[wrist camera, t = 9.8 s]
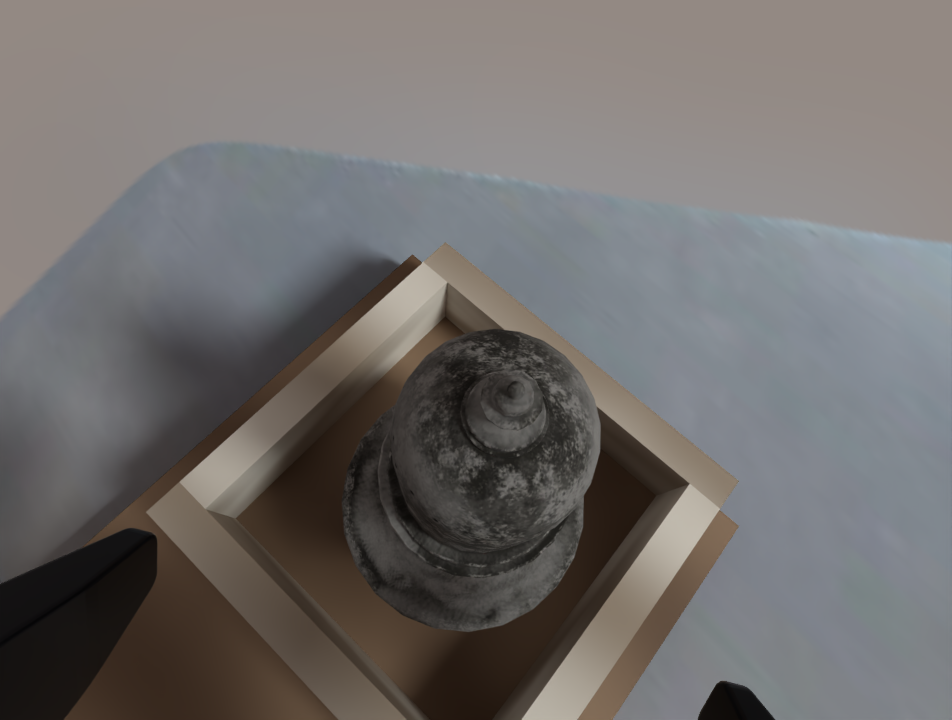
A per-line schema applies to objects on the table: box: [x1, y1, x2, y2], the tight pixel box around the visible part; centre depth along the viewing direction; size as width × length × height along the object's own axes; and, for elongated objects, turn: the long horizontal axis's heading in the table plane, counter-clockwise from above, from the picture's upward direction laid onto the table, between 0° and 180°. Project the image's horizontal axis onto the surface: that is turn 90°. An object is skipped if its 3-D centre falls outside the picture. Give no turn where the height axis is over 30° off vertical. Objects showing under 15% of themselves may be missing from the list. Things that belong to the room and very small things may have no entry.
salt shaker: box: [342, 329, 601, 632], centre depth 11 cm, size 6×6×12 cm
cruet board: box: [64, 242, 739, 720], centre depth 15 cm, size 18×14×4 cm
